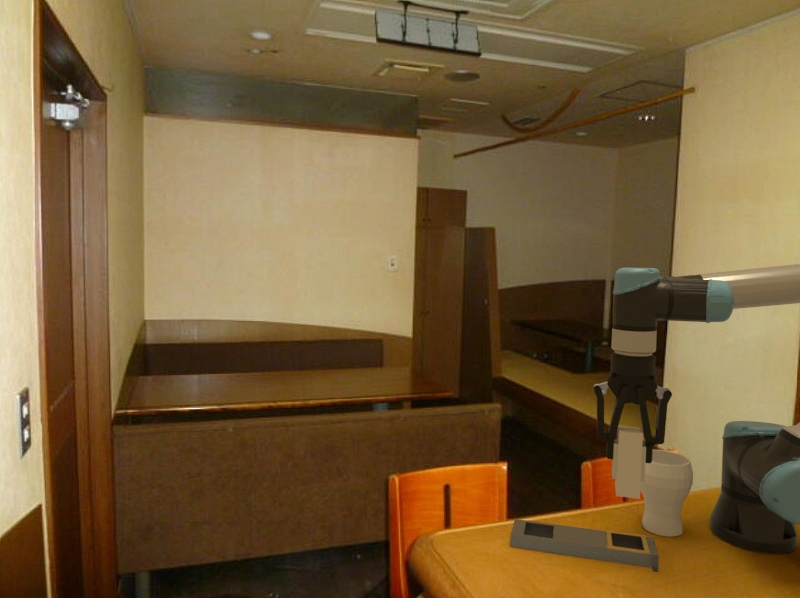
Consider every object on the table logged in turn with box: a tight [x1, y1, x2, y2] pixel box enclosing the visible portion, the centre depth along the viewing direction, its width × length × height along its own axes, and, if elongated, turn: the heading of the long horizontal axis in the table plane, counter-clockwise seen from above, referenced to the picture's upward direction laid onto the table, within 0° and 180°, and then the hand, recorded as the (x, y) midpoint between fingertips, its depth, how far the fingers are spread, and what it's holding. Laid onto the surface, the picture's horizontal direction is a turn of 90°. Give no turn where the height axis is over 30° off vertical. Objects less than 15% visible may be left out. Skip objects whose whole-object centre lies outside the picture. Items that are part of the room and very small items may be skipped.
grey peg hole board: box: [510, 518, 660, 573], centre depth 110 cm, size 26×7×3 cm, turn 73°
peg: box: [614, 425, 644, 500], centre depth 107 cm, size 4×4×12 cm
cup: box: [640, 449, 694, 537], centre depth 120 cm, size 11×11×15 cm
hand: (627, 477), depth 107 cm, fingers closed on peg, 4 cm apart
